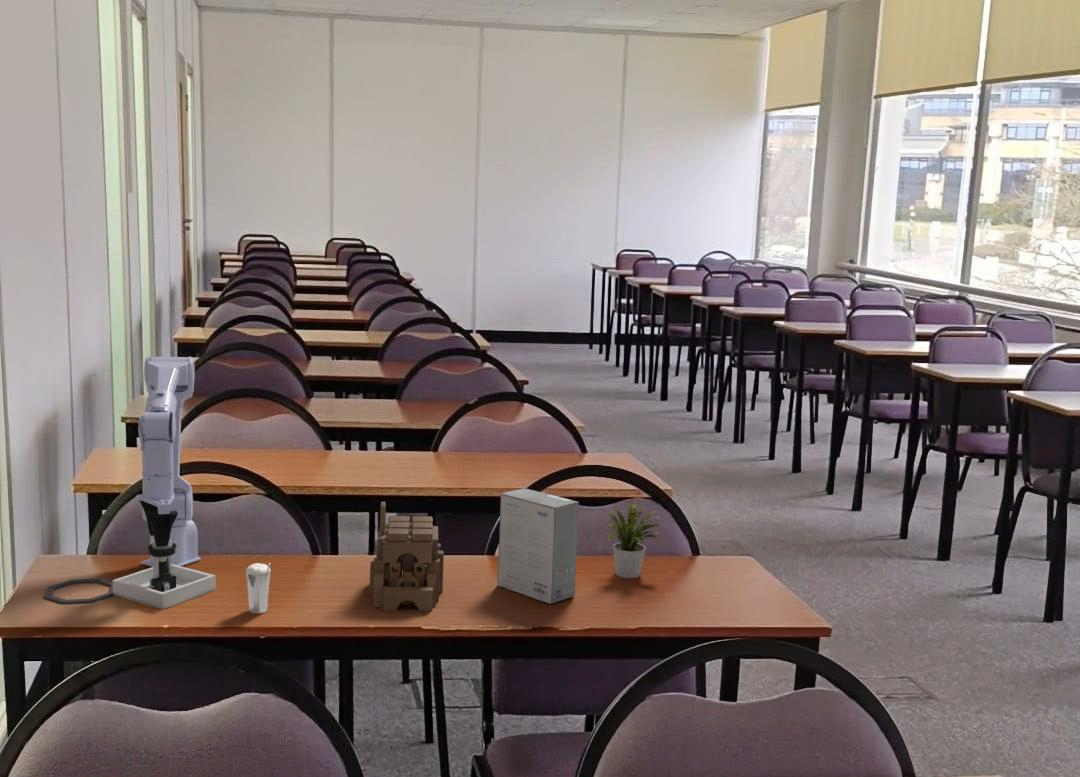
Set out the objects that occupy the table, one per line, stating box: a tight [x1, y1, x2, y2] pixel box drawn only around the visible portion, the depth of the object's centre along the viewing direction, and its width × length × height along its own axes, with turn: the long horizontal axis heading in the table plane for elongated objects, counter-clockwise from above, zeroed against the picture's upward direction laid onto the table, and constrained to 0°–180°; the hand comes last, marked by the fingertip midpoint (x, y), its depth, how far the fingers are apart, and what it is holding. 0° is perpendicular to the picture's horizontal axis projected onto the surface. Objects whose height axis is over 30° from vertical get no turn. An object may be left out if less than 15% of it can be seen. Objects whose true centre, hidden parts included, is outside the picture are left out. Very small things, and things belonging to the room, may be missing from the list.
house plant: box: [604, 500, 666, 579], centre depth 245 cm, size 14×14×16 cm
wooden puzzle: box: [369, 501, 445, 612], centre depth 230 cm, size 22×15×19 cm, turn 5°
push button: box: [146, 539, 176, 592], centre depth 223 cm, size 7×5×10 cm
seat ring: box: [43, 577, 115, 605], centre depth 223 cm, size 13×13×1 cm
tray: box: [112, 564, 217, 610], centre depth 225 cm, size 14×14×3 cm
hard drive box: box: [497, 488, 580, 605], centre depth 233 cm, size 16×8×20 cm, turn 47°
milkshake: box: [245, 562, 272, 615], centre depth 216 cm, size 4×5×10 cm
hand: (158, 540), depth 224 cm, fingers open, 7 cm apart
